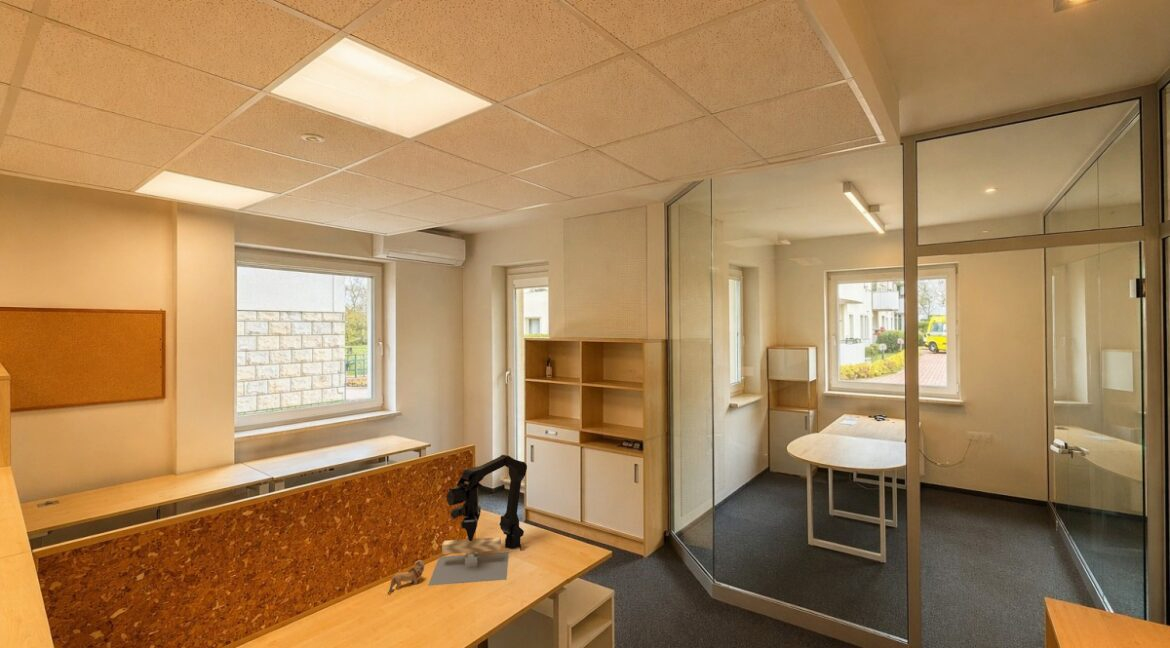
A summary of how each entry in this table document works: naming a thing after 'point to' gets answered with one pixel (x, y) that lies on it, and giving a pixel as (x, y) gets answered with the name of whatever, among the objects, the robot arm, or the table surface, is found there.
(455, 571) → the base board
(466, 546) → the beech batten
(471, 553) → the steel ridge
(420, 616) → the table surface
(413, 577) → the lion figurine
